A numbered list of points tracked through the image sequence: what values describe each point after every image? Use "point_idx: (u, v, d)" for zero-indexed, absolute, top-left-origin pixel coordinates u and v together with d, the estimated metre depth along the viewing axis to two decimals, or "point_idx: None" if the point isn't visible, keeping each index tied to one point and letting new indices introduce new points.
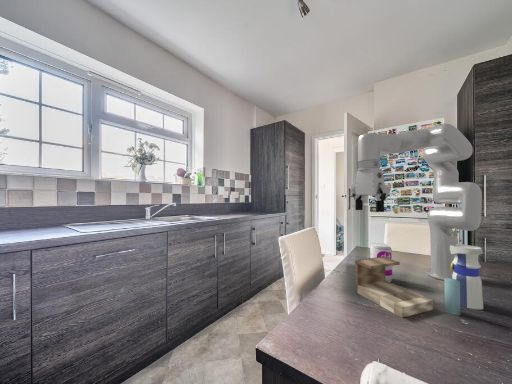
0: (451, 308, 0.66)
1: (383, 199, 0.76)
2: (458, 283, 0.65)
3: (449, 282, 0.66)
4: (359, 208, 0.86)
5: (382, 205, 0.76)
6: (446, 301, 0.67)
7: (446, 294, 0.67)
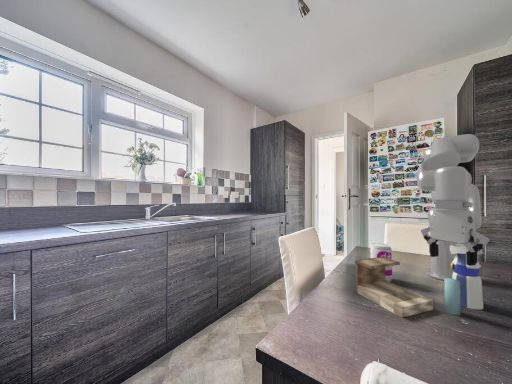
0: (451, 308, 0.66)
1: (477, 250, 0.61)
2: (458, 283, 0.65)
3: (449, 282, 0.66)
4: (435, 254, 0.71)
5: (475, 258, 0.61)
6: (446, 301, 0.67)
7: (446, 294, 0.67)
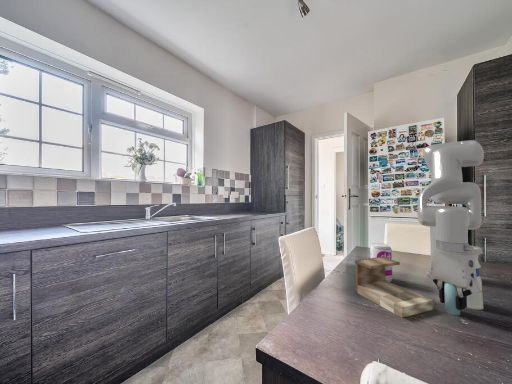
0: (451, 308, 0.66)
1: None
2: None
3: None
4: None
5: (464, 302, 0.64)
6: (446, 301, 0.67)
7: (446, 294, 0.67)
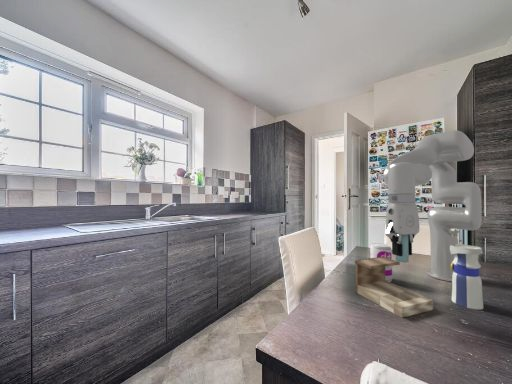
0: None
1: (394, 243, 0.70)
2: None
3: None
4: None
5: (395, 248, 0.70)
6: None
7: None
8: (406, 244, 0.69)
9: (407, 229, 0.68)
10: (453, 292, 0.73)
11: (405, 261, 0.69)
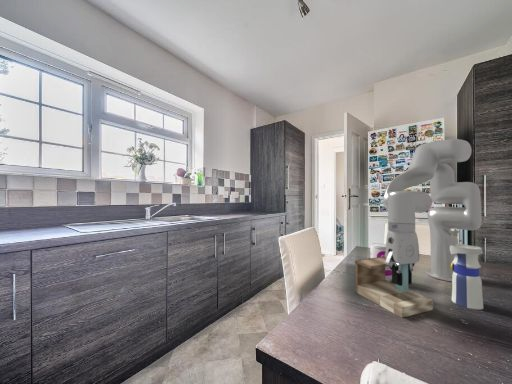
0: None
1: (394, 272, 0.70)
2: None
3: None
4: None
5: (395, 277, 0.70)
6: None
7: None
8: (406, 273, 0.69)
9: (407, 259, 0.68)
10: (453, 292, 0.73)
11: (405, 290, 0.69)
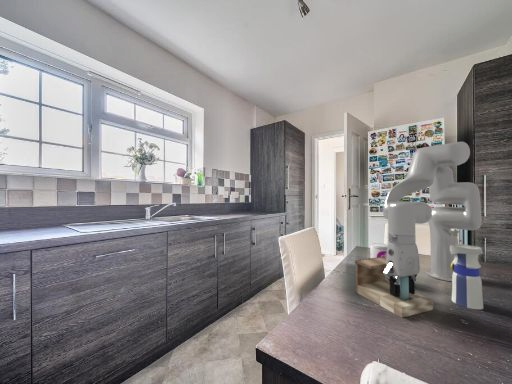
0: None
1: (392, 283, 0.69)
2: None
3: None
4: None
5: (392, 288, 0.69)
6: None
7: None
8: (406, 290, 0.69)
9: (407, 271, 0.68)
10: (453, 292, 0.73)
11: None
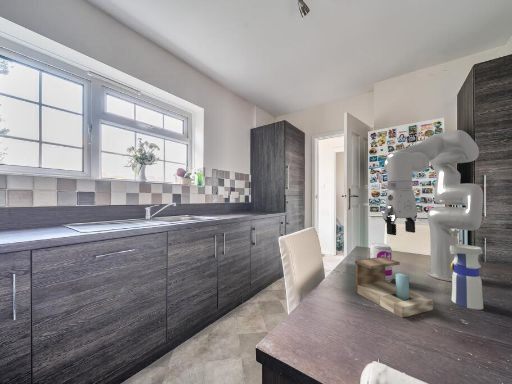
0: None
1: (388, 222, 0.75)
2: (397, 276, 0.70)
3: None
4: (408, 230, 0.79)
5: (389, 228, 0.76)
6: None
7: None
8: (406, 290, 0.69)
9: (405, 213, 0.75)
10: (453, 292, 0.73)
11: None
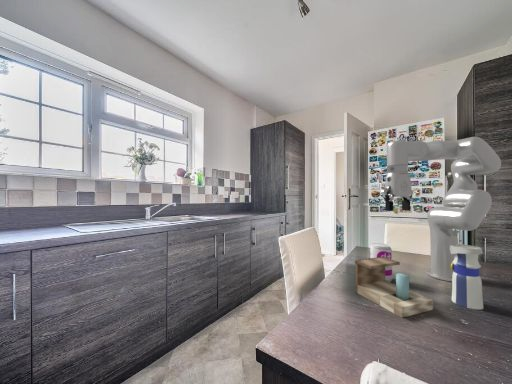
0: None
1: (386, 200, 0.88)
2: (398, 276, 0.70)
3: None
4: (404, 208, 0.92)
5: (387, 205, 0.88)
6: None
7: None
8: (407, 290, 0.69)
9: (402, 192, 0.87)
10: (453, 292, 0.73)
11: None
